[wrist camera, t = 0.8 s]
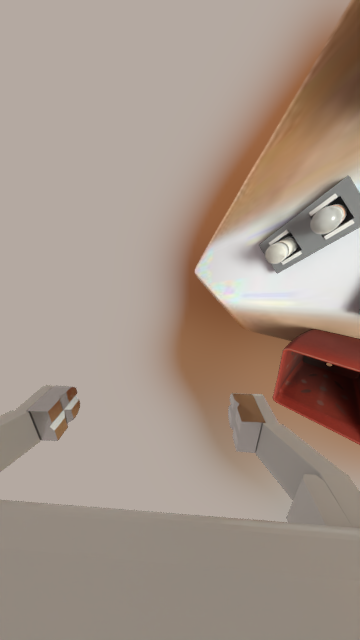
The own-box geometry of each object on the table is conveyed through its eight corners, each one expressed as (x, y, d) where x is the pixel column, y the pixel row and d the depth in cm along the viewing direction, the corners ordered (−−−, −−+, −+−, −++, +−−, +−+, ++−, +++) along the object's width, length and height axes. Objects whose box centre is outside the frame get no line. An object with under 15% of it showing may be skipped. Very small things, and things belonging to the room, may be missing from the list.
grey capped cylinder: (325, 204, 35) (316, 206, 29) (351, 203, 32) (347, 205, 27) (316, 227, 37) (306, 233, 31) (340, 228, 35) (334, 235, 29)
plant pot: (409, 335, 35) (425, 392, 25) (370, 394, 45) (371, 451, 35) (301, 315, 47) (283, 347, 37) (288, 364, 57) (271, 400, 47)
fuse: (282, 235, 42) (267, 242, 36) (301, 237, 40) (289, 244, 34) (277, 253, 45) (263, 262, 39) (294, 255, 42) (282, 265, 36)
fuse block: (349, 176, 31) (348, 175, 29) (375, 216, 31) (375, 218, 29) (262, 242, 46) (257, 245, 44) (280, 270, 46) (276, 274, 44)
